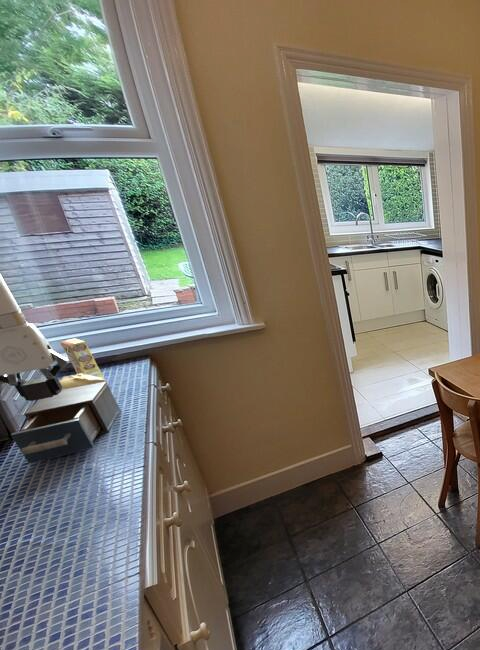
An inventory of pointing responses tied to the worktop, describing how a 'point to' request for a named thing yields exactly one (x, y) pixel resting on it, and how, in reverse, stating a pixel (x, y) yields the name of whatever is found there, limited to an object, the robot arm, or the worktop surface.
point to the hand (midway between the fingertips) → (44, 394)
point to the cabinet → (82, 403)
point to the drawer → (58, 433)
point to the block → (37, 389)
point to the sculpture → (79, 381)
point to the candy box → (81, 357)
